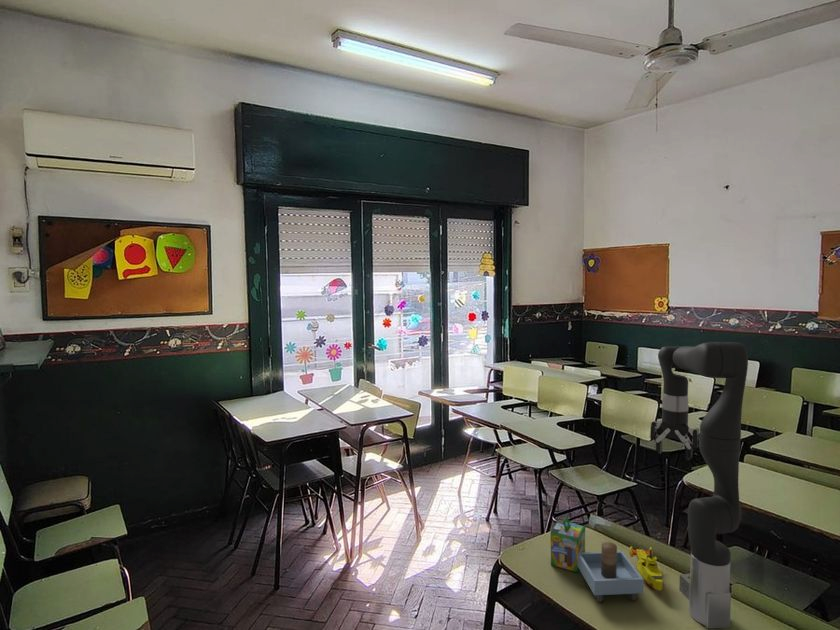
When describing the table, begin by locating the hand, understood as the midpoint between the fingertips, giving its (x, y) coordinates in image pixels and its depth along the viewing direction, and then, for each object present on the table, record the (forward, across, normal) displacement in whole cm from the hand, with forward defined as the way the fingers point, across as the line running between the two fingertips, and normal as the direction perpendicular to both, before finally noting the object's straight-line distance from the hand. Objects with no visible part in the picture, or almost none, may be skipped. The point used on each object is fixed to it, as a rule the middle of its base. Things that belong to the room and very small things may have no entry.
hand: (673, 456), depth 162 cm
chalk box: (+33, -23, -27) cm, 49 cm away
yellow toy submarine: (+33, -1, -19) cm, 38 cm away
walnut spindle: (+29, -8, -32) cm, 43 cm away
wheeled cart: (+33, -8, -32) cm, 47 cm away
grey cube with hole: (+33, +11, -18) cm, 40 cm away
